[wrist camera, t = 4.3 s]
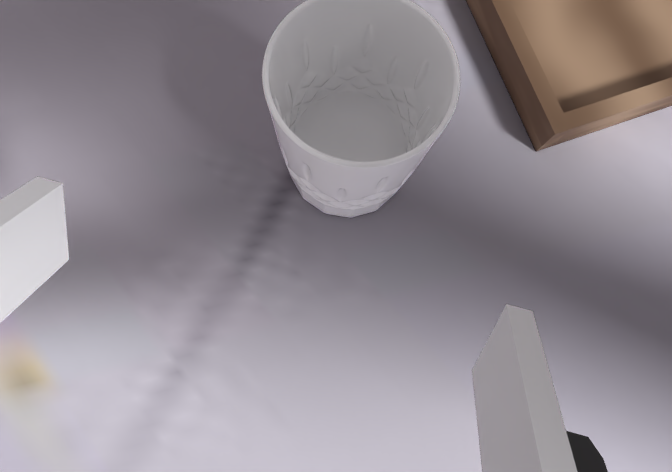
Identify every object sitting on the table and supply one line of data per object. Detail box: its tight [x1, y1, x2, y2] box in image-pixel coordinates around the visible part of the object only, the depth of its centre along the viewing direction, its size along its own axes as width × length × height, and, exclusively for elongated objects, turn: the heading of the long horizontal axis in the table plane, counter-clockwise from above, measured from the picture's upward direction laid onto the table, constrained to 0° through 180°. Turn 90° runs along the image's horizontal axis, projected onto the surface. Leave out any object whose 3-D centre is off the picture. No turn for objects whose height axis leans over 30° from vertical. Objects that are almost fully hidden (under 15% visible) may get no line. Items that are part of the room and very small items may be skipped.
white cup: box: [262, 0, 460, 218], centre depth 25 cm, size 8×8×10 cm
